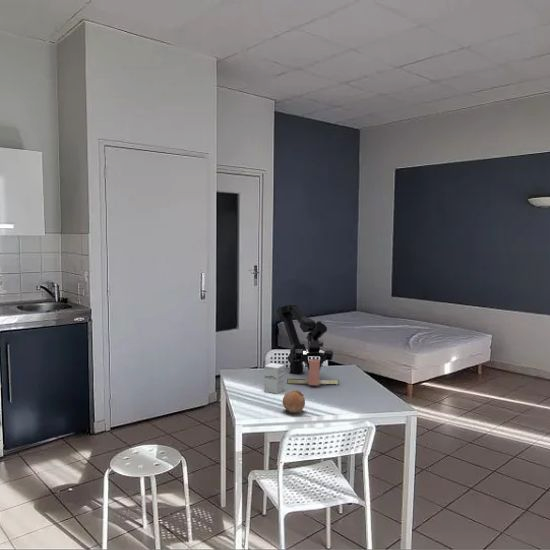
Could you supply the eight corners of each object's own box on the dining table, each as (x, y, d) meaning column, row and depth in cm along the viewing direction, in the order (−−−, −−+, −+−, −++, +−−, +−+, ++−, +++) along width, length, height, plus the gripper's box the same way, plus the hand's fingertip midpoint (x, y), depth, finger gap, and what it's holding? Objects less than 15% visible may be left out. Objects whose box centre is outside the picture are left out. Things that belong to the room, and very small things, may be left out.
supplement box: (263, 391, 244) (264, 365, 243) (270, 387, 251) (271, 362, 250) (277, 394, 241) (277, 367, 240) (284, 390, 247) (284, 364, 246)
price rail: (286, 382, 260) (287, 378, 260) (338, 383, 260) (338, 379, 260) (287, 384, 258) (287, 379, 257) (338, 385, 258) (339, 380, 257)
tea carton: (308, 382, 256) (309, 358, 255) (318, 382, 256) (319, 359, 255) (308, 385, 252) (309, 361, 251) (318, 385, 252) (319, 361, 251)
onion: (298, 416, 221) (307, 394, 223) (300, 418, 212) (309, 395, 214) (278, 407, 221) (287, 385, 223) (279, 409, 212) (288, 386, 214)
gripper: (295, 333, 256) (296, 360, 246) (333, 334, 256) (335, 361, 246) (294, 345, 264) (294, 372, 254) (330, 346, 264) (332, 373, 254)
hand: (314, 369), depth 252 cm, fingers closed on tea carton, 5 cm apart
